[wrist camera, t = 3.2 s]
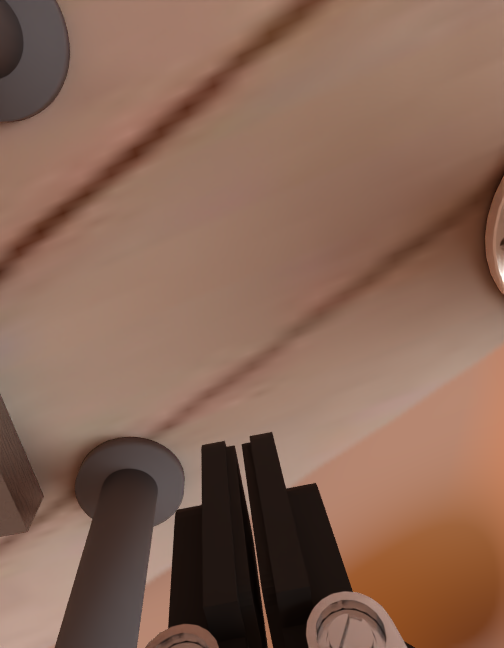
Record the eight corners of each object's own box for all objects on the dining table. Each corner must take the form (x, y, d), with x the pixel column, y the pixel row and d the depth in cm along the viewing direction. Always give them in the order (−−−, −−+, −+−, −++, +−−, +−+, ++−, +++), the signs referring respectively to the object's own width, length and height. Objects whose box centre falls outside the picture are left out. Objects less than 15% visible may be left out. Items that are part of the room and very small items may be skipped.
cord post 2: (205, 478, 32) (204, 743, 18) (136, 534, 33) (85, 821, 19) (128, 418, 29) (58, 671, 16) (56, 481, 31) (-66, 765, 17)
